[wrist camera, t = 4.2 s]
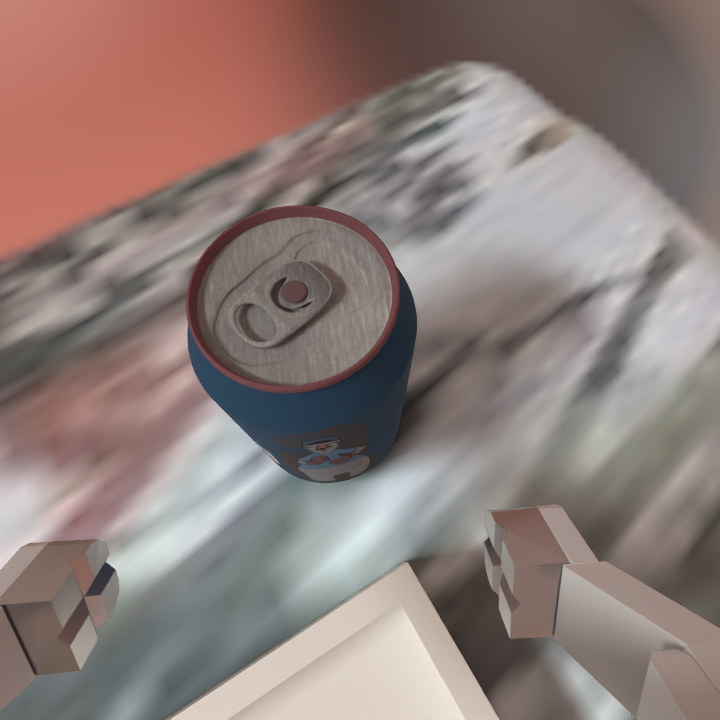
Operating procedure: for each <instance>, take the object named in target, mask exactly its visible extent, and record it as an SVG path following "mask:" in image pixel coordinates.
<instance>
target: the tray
mask: <svg viewBox="0 0 720 720" xmlns="http://www.w3.org/2000/svg"><path fill="white" fill-rule="evenodd" d="M164 720H499V718H498V716H497V715H496V713H495V711H494V710H493V708H492V706H491V704H490V703H489V701H488V699H487V698H486V696H485V694H484V692H483V691H482V689H481V687H480V685H479V684H478V682H477V680H476V679H475V677H474V675H473V673H472V672H471V670H470V668H469V667H468V665H467V663H466V661H465V660H464V658H463V656H462V655H461V653H460V651H459V649H458V648H457V646H456V644H455V642H454V641H453V639H452V637H451V636H450V634H449V632H448V630H447V629H446V627H445V625H444V624H443V622H442V620H441V618H440V617H439V615H438V613H437V612H436V610H435V608H434V606H433V605H432V603H431V601H430V600H429V598H428V596H427V594H426V593H425V591H424V589H423V587H422V586H421V584H420V582H419V581H418V579H417V577H416V575H415V574H414V572H413V570H412V569H411V567H410V565H409V563H408V562H402V563H401V564H399V565H398V566H396V567H394V568H393V569H391V570H390V571H388V572H387V573H385V574H384V575H382V576H381V577H379V578H378V579H376V580H375V581H373V582H372V583H370V584H369V585H367V586H366V587H364V588H363V589H361V590H360V591H358V592H357V593H355V594H354V595H352V596H351V597H349V598H348V599H346V600H345V601H343V602H342V603H340V604H338V605H337V606H335V607H334V608H332V609H331V610H329V611H328V612H326V613H325V614H323V615H322V616H320V617H319V618H317V619H316V620H314V621H313V622H311V623H310V624H308V625H307V626H305V627H304V628H302V629H301V630H299V631H298V632H296V633H295V634H293V635H292V636H290V637H289V638H287V639H286V640H284V641H283V642H281V643H279V644H278V645H276V646H275V647H273V648H272V649H270V650H269V651H267V652H266V653H264V654H263V655H261V656H260V657H258V658H257V659H255V660H254V661H252V662H251V663H249V664H248V665H246V666H245V667H243V668H242V669H240V670H239V671H237V672H236V673H234V674H233V675H231V676H230V677H228V678H227V679H225V680H223V681H222V682H220V683H219V684H217V685H216V686H214V687H213V688H211V689H210V690H208V691H207V692H205V693H204V694H202V695H201V696H199V697H198V698H196V699H195V700H193V701H192V702H190V703H189V704H187V705H186V706H184V707H183V708H181V709H180V710H178V711H177V712H175V713H174V714H172V715H171V716H169V717H168V718H166V719H164Z"/></svg>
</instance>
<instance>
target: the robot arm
mask: <svg viewBox="0 0 720 720" xmlns="http://www.w3.org/2000/svg"><path fill="white" fill-rule="evenodd" d="M485 528H486V530H487V533H488V535H489V537H488V539H487V540H486V541H485V542H484V559H485V567H486V572H487V576H488V580H489V583H490V585H491V588H492V590H493V591H494V592H495V593H497V594H498V595H499V611H500V614H501V616H502V619H503V622H504V624H505V627H506V630H507V633H508V635H509V638H510V639H517V638H539V637H554V640H555V641H556V642H557V643H558V644H559V645H560V646H561V647H563V648H564V649H565V650H566V651H567V652H568V653H569V654H570V655H571V656H572V657H573V658H574V659H575V660H576V661H577V662H578V663H579V664H580V665H581V666H582V667H583V668H584V669H586V670H587V671H588V672H589V673H590V674H591V675H592V676H593V677H594V678H595V679H596V680H597V681H598V682H599V683H600V684H601V685H602V686H603V687H604V688H605V689H606V690H608V691H609V692H610V693H611V694H612V695H613V696H614V697H615V698H616V699H617V700H618V701H619V702H620V703H621V704H622V705H623V706H624V707H625V708H626V709H627V710H628V711H629V712H631V713H632V714H633V715H634V716H635V717H636V720H720V628H718V627H717V626H715V625H713V624H711V623H710V622H708V621H706V620H705V619H703V618H701V617H700V616H698V615H696V614H695V613H693V612H691V611H690V610H688V609H686V608H684V607H683V606H681V605H679V604H678V603H676V602H674V601H673V600H671V599H669V598H668V597H666V596H664V595H663V594H661V593H659V592H657V591H656V590H654V589H652V588H651V587H649V586H647V585H646V584H644V583H642V582H641V581H639V580H637V579H636V578H634V577H632V576H630V575H629V574H627V573H625V572H624V571H622V570H620V569H619V568H617V567H615V566H614V565H612V564H610V563H609V562H607V561H601V562H599V561H598V560H597V558H596V557H595V555H594V554H593V552H592V551H591V549H590V548H589V546H588V545H587V543H586V542H585V540H584V539H583V537H582V536H581V534H580V533H579V531H578V530H577V529H576V527H575V526H574V524H573V523H572V521H571V520H570V518H569V517H568V515H567V514H566V512H565V511H564V509H563V508H562V507H561V506H560V505H558V504H553V505H542V506H534V507H525V508H513V509H500V510H488V511H487V512H486V516H485ZM109 555H110V552H109V550H108V547H107V545H106V542H105V541H102V540H99V539H93V540H73V541H53V542H42V543H29V544H27V545H25V546H23V547H21V548H20V549H19V550H18V551H17V552H16V554H15V555H14V556H13V557H12V558H11V559H10V560H9V561H8V562H7V564H6V565H5V566H4V567H3V568H2V569H1V570H0V711H1V710H2V709H3V708H4V707H5V706H6V705H7V704H8V703H9V702H11V701H12V700H13V699H14V698H15V697H16V696H17V695H18V694H19V693H20V692H21V691H22V690H23V689H24V688H26V687H27V686H28V685H29V684H30V683H31V682H32V681H33V680H34V679H35V678H36V677H35V675H44V674H53V673H63V672H72V671H80V670H81V669H82V667H83V665H84V663H85V661H86V659H87V658H88V656H89V654H90V652H91V650H92V649H93V647H94V645H95V643H96V641H97V639H98V636H97V631H96V628H98V627H99V626H100V625H101V624H102V623H104V622H105V621H106V620H107V619H109V617H110V615H111V613H112V612H113V610H114V608H115V606H116V602H117V598H118V593H119V579H118V576H117V573H116V570H115V569H114V568H113V567H111V566H110V565H109V564H107V563H106V560H107V558H108V556H109Z"/></svg>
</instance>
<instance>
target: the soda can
mask: <svg viewBox="0 0 720 720" xmlns="http://www.w3.org/2000/svg"><path fill="white" fill-rule="evenodd" d="M186 312H187V319H188V349H189V355H190V359H191V362H192V366H193V368H194V371H195V373H196V375H197V377H198V379H199V381H200V383H201V384H202V386H203V388H204V389H205V390H206V392H207V393H208V394H209V395H210V397H211V398H212V399H213V400H214V401H215V402H216V403H217V404H218V405H219V406H220V407H221V408H222V409H223V410H224V411H225V412H226V413H227V414H228V415H229V416H230V417H231V418H232V419H233V420H234V421H235V422H236V423H237V424H238V425H239V426H240V427H241V428H242V429H243V430H244V431H245V432H246V433H247V434H248V435H249V436H250V437H251V438H252V439H253V440H254V441H255V442H256V443H257V444H258V445H259V446H260V447H261V448H262V449H263V450H264V451H265V452H266V453H267V454H268V455H269V456H270V457H271V458H272V459H273V460H274V461H275V463H277V464H278V465H279V466H280V467H281V468H282V469H284V470H285V471H287V472H288V473H290V474H292V475H294V476H296V477H298V478H301V479H304V480H307V481H311V482H318V483H333V482H340V481H345V480H348V479H351V478H354V477H356V476H359V475H361V474H363V473H364V472H366V471H368V470H369V469H371V468H372V467H373V466H375V465H376V464H377V463H378V462H379V461H380V460H381V459H382V458H383V457H384V456H385V454H386V453H387V452H388V450H389V449H390V447H391V446H392V444H393V442H394V440H395V438H396V435H397V432H398V429H399V425H400V420H401V415H402V409H403V404H404V399H405V393H406V388H407V383H408V377H409V372H410V367H411V361H412V356H413V351H414V345H415V340H416V332H417V315H416V308H415V304H414V299H413V296H412V293H411V291H410V288H409V286H408V284H407V282H406V280H405V278H404V277H403V275H402V274H401V272H400V271H399V269H398V268H397V267H396V265H395V263H394V260H393V258H392V256H391V254H390V252H389V251H388V249H387V248H386V246H385V245H384V243H383V242H382V241H381V240H380V238H379V237H378V236H377V235H376V234H375V233H374V232H373V231H371V230H370V229H369V228H368V227H366V226H365V225H364V224H362V223H361V222H359V221H358V220H356V219H354V218H352V217H350V216H348V215H346V214H343V213H341V212H338V211H334V210H331V209H327V208H322V207H315V206H285V207H277V208H272V209H268V210H264V211H261V212H258V213H255V214H253V215H250V216H248V217H246V218H244V219H242V220H241V221H239V222H237V223H236V224H234V225H233V226H231V227H230V228H228V229H227V230H226V231H225V232H223V233H222V234H221V235H220V236H219V237H218V238H217V239H215V240H214V241H213V242H212V244H211V245H210V246H209V247H208V248H207V249H206V251H205V252H204V253H203V255H202V256H201V258H200V259H199V261H198V263H197V265H196V266H195V269H194V271H193V273H192V276H191V279H190V282H189V286H188V291H187V298H186Z"/></svg>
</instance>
